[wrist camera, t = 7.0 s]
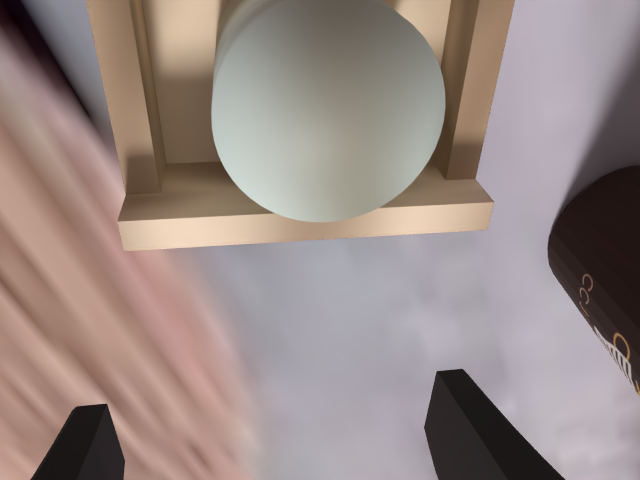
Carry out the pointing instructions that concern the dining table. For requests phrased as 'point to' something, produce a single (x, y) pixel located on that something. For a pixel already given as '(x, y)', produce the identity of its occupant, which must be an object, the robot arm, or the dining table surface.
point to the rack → (298, 116)
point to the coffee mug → (604, 263)
